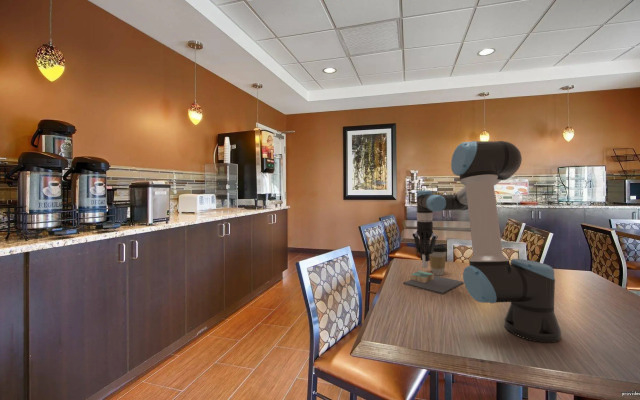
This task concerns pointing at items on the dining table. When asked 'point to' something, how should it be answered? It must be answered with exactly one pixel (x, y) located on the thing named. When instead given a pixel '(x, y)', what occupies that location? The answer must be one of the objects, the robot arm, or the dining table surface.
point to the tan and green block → (422, 276)
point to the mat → (436, 284)
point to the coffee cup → (438, 260)
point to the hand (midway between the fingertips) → (424, 267)
